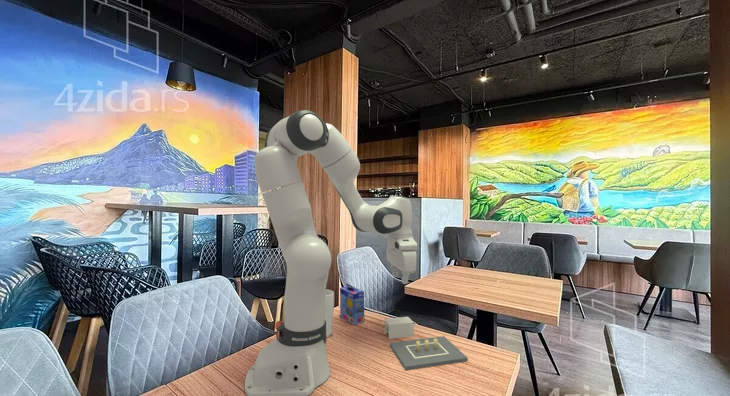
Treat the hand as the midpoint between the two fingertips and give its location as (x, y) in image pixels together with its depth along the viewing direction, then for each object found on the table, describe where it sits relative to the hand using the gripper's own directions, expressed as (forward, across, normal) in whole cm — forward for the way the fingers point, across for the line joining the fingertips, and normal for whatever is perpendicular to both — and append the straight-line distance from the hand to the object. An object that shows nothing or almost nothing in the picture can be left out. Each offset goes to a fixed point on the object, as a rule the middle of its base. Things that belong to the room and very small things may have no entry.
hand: (399, 279), depth 105 cm
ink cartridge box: (+20, -16, -14) cm, 29 cm away
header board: (+20, +14, +4) cm, 24 cm away
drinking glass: (+20, -6, -26) cm, 33 cm away
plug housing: (+20, 0, 0) cm, 20 cm away
